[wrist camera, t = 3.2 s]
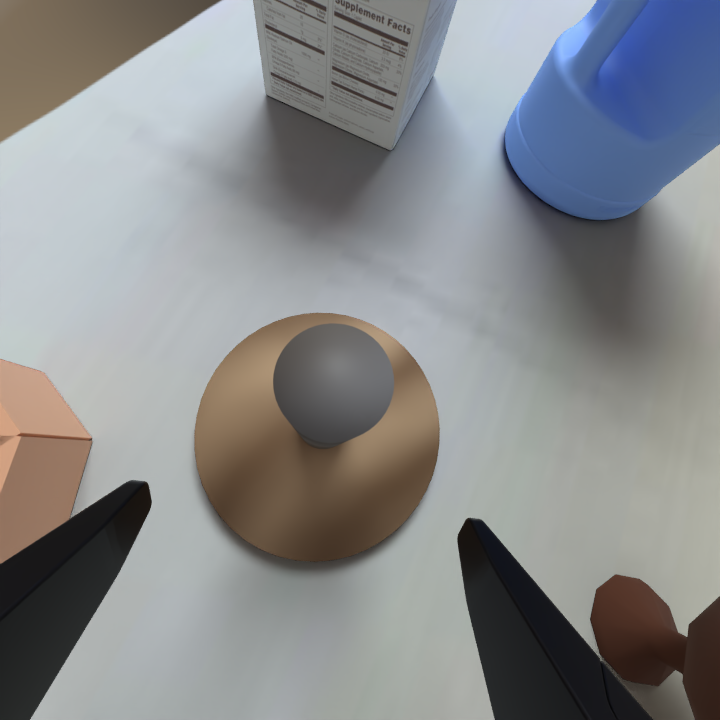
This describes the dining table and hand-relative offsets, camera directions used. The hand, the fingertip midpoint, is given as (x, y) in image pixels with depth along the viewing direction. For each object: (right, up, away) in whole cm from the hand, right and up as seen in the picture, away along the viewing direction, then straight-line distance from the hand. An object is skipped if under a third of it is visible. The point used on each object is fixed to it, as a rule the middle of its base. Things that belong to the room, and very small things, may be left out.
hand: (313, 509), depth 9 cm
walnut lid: (-1, 0, +11) cm, 11 cm away
